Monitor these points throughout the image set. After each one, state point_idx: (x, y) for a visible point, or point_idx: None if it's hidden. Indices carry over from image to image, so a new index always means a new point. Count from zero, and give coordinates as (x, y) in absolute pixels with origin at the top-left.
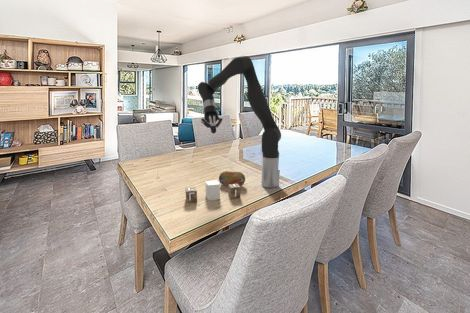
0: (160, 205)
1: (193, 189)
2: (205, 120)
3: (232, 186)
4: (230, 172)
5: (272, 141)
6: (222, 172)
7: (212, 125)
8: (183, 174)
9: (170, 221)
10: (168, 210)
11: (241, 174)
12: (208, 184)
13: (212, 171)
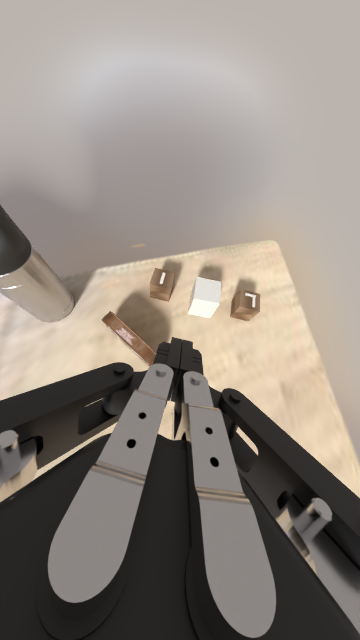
0: (291, 316)
1: (245, 297)
2: (292, 517)
3: (168, 276)
4: (133, 334)
5: None
6: (151, 349)
7: (187, 374)
8: None
9: (276, 266)
10: (278, 294)
11: (111, 314)
12: (219, 285)
13: None
